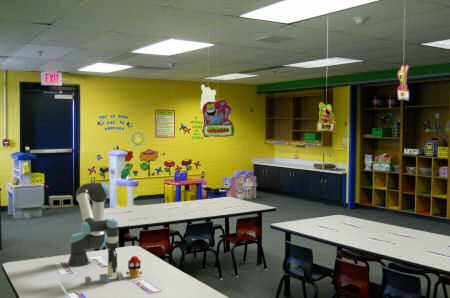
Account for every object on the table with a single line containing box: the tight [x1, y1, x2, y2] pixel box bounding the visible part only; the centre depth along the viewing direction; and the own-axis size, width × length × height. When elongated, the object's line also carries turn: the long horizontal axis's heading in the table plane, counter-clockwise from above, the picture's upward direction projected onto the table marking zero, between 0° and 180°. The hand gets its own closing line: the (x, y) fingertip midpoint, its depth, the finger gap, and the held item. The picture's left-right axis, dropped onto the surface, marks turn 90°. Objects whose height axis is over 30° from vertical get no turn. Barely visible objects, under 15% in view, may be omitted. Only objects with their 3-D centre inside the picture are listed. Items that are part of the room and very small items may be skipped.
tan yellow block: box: [107, 262, 118, 279], centre depth 307 cm, size 5×5×9 cm
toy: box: [125, 255, 143, 279], centre depth 317 cm, size 11×9×15 cm
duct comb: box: [84, 271, 124, 286], centre depth 304 cm, size 6×24×5 cm, turn 121°
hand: (112, 275), depth 307 cm, fingers closed on tan yellow block, 5 cm apart
